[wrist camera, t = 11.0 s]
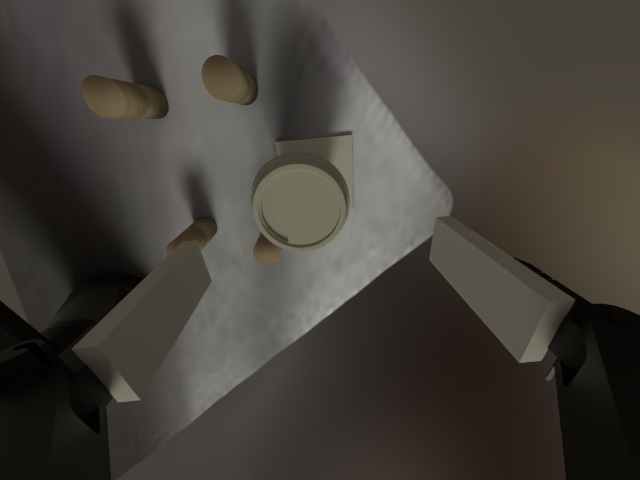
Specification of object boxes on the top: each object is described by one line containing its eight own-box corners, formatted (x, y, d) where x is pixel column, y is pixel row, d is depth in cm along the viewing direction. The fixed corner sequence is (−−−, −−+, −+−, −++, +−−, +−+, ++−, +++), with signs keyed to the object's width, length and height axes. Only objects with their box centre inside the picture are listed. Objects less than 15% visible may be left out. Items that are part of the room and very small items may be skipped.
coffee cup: (278, 130, 26) (256, 137, 16) (348, 155, 28) (370, 176, 17) (263, 199, 30) (236, 242, 19) (325, 217, 32) (332, 267, 21)
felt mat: (287, 212, 31) (286, 214, 31) (275, 141, 27) (275, 142, 27) (352, 206, 31) (353, 208, 31) (351, 134, 27) (351, 134, 27)
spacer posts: (194, 244, 33) (167, 273, 27) (131, 82, 24) (69, 69, 18) (287, 236, 33) (281, 262, 27) (259, 69, 24) (241, 52, 18)
